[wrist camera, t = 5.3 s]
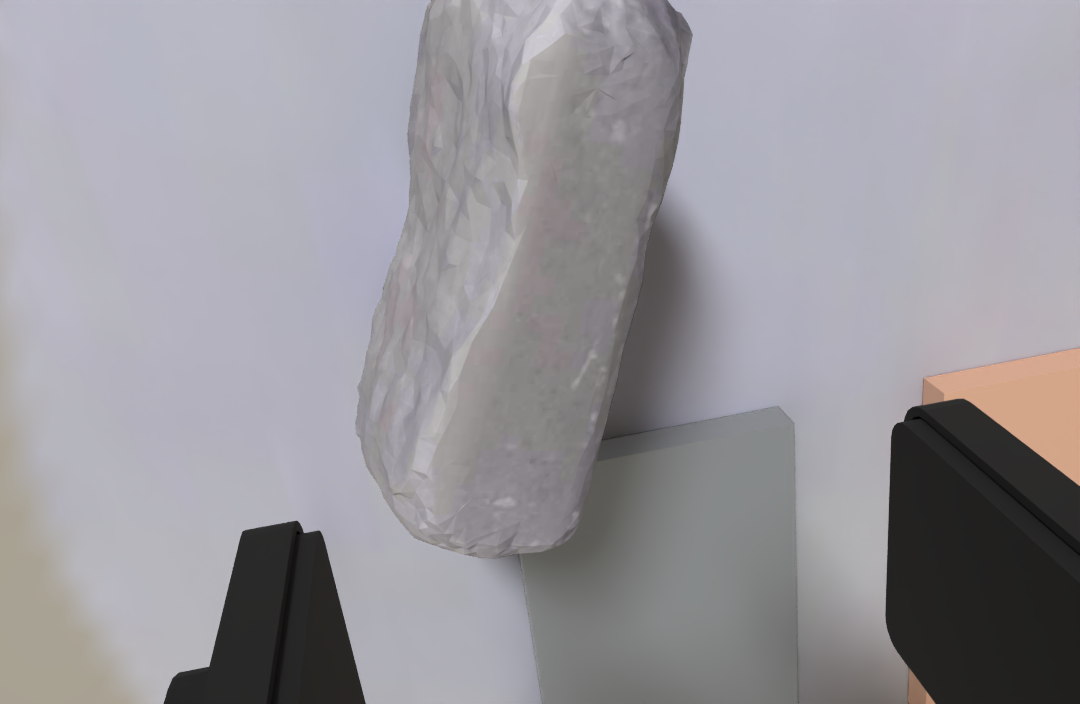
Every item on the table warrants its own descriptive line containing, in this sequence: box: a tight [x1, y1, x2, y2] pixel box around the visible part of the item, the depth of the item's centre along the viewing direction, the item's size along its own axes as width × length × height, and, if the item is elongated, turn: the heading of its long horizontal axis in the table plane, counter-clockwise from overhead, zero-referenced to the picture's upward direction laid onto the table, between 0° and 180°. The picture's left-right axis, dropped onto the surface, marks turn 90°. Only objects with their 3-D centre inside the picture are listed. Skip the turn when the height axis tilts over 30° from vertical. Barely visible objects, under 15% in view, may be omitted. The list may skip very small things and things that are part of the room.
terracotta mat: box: [908, 348, 1080, 704], centre depth 34 cm, size 9×14×1 cm, turn 7°
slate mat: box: [519, 406, 798, 704], centre depth 33 cm, size 9×14×1 cm, turn 7°
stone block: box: [356, 0, 693, 559], centre depth 22 cm, size 12×5×10 cm, turn 166°
